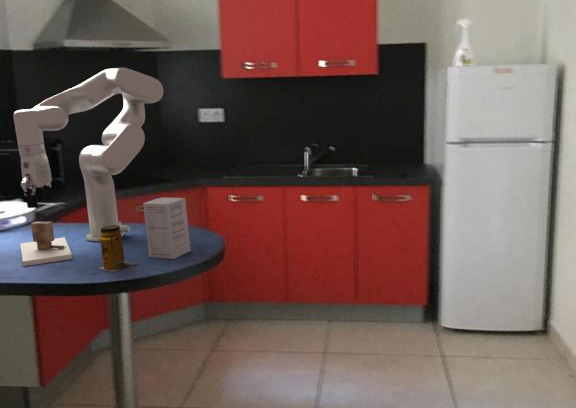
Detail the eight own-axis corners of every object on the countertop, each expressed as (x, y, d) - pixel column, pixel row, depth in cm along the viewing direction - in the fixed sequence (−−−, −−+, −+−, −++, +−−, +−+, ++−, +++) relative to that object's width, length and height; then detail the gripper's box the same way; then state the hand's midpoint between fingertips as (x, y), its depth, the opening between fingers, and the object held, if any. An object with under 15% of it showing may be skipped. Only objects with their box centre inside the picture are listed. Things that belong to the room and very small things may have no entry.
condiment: (97, 268, 191) (92, 228, 189) (121, 261, 197) (117, 222, 195) (112, 272, 186) (107, 231, 184) (137, 264, 193) (132, 224, 190)
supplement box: (191, 251, 204) (186, 197, 200) (174, 259, 196) (168, 203, 192) (166, 249, 208) (161, 196, 204) (147, 257, 200) (142, 202, 196)
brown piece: (32, 249, 209) (28, 224, 207) (41, 245, 213) (37, 220, 211) (59, 250, 206) (56, 224, 205) (67, 246, 210) (64, 221, 209)
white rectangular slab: (20, 247, 219) (20, 242, 219) (65, 241, 224) (64, 236, 224) (23, 266, 197) (22, 260, 197) (72, 258, 202) (71, 253, 202)
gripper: (29, 153, 195) (38, 210, 199) (56, 145, 212) (64, 197, 216) (5, 155, 196) (15, 211, 200) (34, 146, 213) (42, 198, 217)
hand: (40, 203), depth 208 cm, fingers open, 9 cm apart
